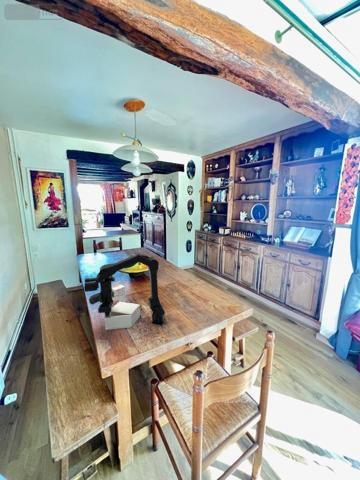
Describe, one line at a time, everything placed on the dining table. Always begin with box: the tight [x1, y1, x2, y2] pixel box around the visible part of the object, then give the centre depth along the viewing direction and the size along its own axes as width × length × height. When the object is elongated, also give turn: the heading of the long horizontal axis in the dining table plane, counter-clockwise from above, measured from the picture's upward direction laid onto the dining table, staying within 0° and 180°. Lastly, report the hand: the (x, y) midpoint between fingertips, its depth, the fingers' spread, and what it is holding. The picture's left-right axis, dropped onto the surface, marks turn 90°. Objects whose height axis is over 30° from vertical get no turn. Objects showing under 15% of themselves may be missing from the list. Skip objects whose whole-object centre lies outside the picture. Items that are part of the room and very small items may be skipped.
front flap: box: [104, 312, 132, 331], centre depth 112 cm, size 14×1×12 cm, turn 101°
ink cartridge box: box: [112, 280, 126, 306], centre depth 141 cm, size 9×5×15 cm, turn 141°
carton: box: [111, 301, 141, 328], centre depth 122 cm, size 14×11×8 cm
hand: (107, 315), depth 110 cm, fingers closed
